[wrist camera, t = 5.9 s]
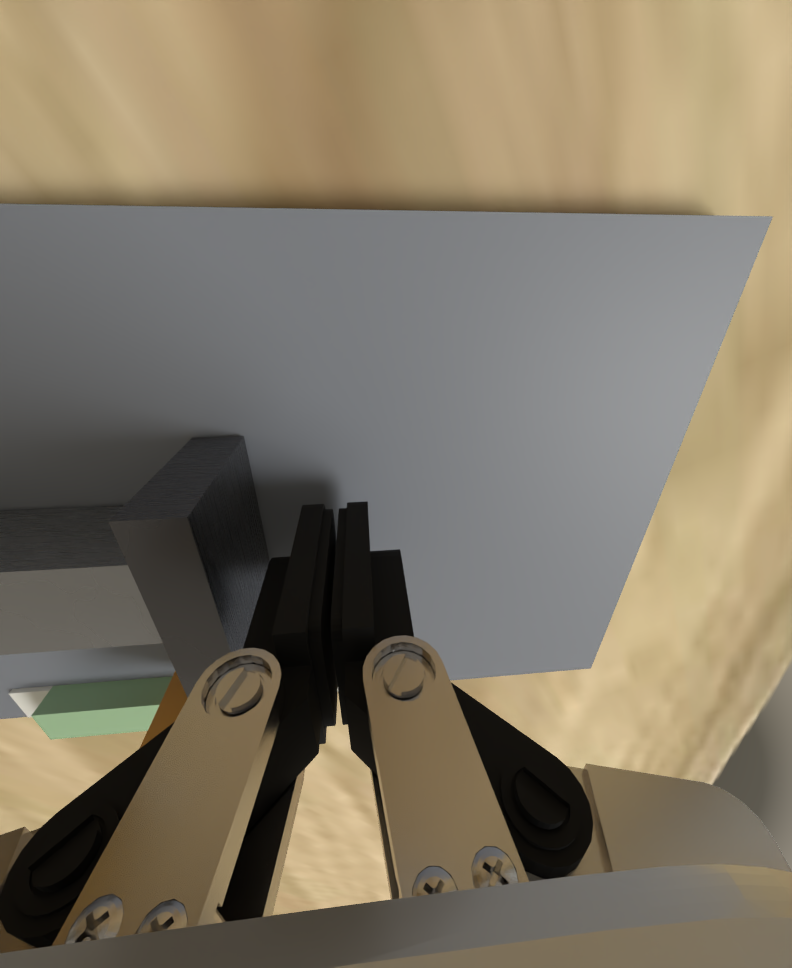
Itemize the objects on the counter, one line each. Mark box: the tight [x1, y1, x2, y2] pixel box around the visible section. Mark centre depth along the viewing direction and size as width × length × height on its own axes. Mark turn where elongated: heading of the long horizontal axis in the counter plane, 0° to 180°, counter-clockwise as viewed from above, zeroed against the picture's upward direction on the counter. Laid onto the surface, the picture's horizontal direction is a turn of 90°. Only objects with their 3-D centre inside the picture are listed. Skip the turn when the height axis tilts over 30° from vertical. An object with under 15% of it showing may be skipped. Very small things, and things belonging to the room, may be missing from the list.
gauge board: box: [0, 204, 772, 739], centre depth 9 cm, size 15×25×5 cm, turn 90°
